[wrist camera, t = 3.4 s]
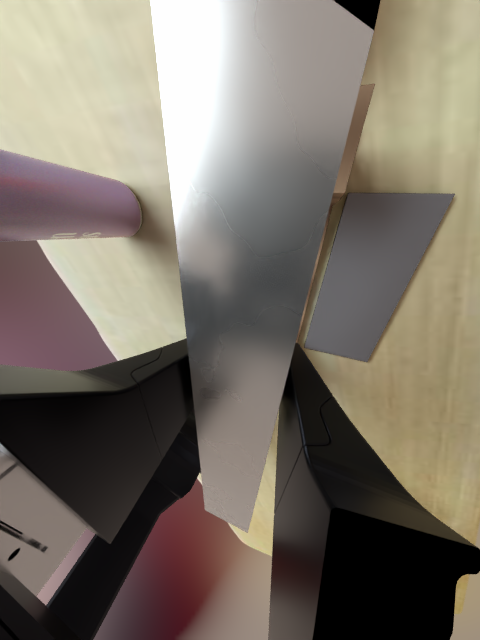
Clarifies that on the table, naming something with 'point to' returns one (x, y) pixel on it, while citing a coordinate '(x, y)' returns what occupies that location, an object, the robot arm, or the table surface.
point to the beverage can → (62, 202)
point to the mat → (371, 268)
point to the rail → (251, 201)
